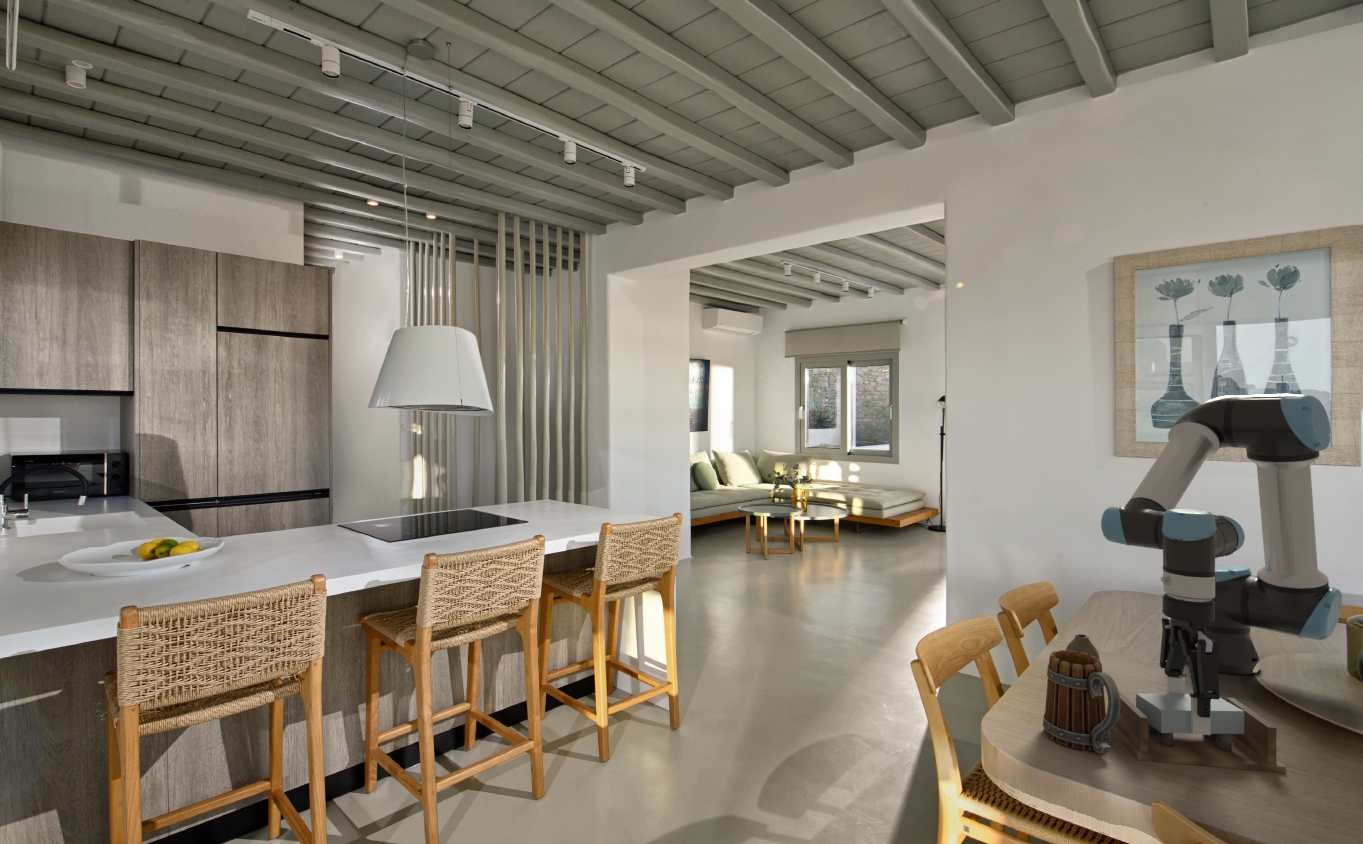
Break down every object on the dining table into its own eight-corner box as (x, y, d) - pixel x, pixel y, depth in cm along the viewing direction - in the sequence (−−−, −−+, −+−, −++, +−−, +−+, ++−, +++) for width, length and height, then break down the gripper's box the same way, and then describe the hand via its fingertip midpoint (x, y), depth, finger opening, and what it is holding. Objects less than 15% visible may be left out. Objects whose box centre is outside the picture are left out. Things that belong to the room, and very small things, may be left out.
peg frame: (1235, 733, 125) (1235, 696, 125) (1285, 773, 111) (1286, 731, 111) (1104, 722, 129) (1104, 687, 129) (1137, 759, 116) (1137, 719, 115)
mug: (1030, 726, 128) (1030, 648, 128) (1082, 723, 129) (1082, 646, 129) (1086, 769, 113) (1086, 681, 112) (1145, 766, 114) (1145, 678, 113)
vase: (1105, 680, 150) (1105, 641, 149) (1071, 678, 151) (1071, 639, 151) (1092, 668, 156) (1092, 631, 156) (1060, 667, 158) (1060, 630, 158)
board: (1213, 715, 123) (1213, 694, 123) (1244, 733, 116) (1244, 711, 116) (1136, 714, 124) (1136, 693, 124) (1161, 732, 117) (1161, 710, 117)
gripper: (1138, 581, 130) (1137, 697, 131) (1195, 611, 110) (1195, 748, 111) (1181, 583, 129) (1181, 700, 129) (1247, 614, 109) (1247, 753, 109)
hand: (1187, 722), depth 120 cm, fingers closed on board, 8 cm apart
